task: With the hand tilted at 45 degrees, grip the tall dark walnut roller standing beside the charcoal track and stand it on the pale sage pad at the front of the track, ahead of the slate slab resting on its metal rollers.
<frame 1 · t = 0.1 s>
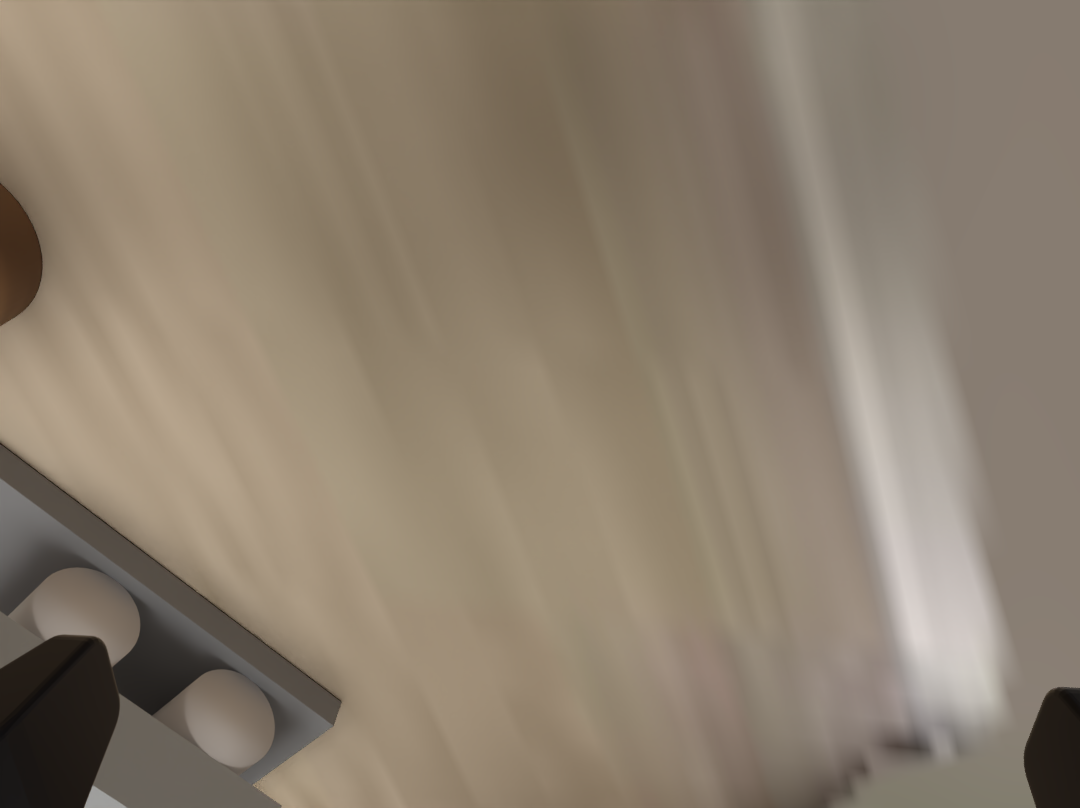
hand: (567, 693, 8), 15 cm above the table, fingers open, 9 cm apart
slab track: (13, 580, 27), on the table
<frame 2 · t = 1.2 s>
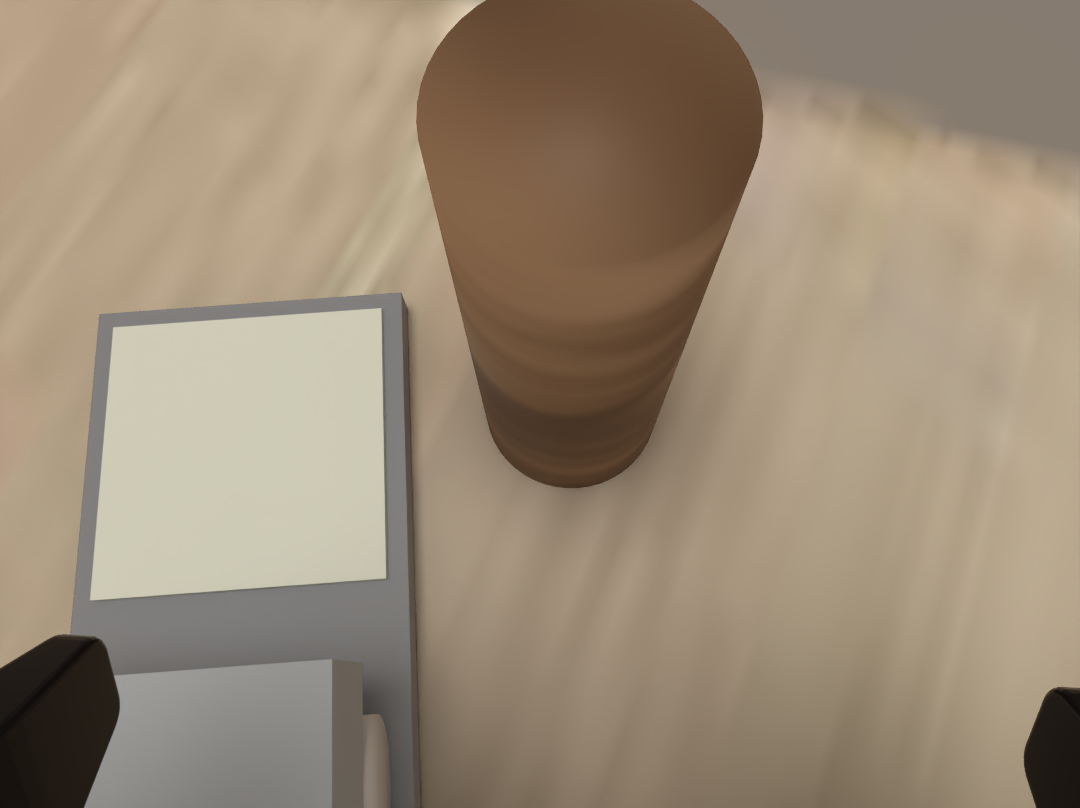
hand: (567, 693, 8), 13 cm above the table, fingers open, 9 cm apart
walnut roller: (570, 404, 23), on the table
slab track: (251, 700, 21), on the table
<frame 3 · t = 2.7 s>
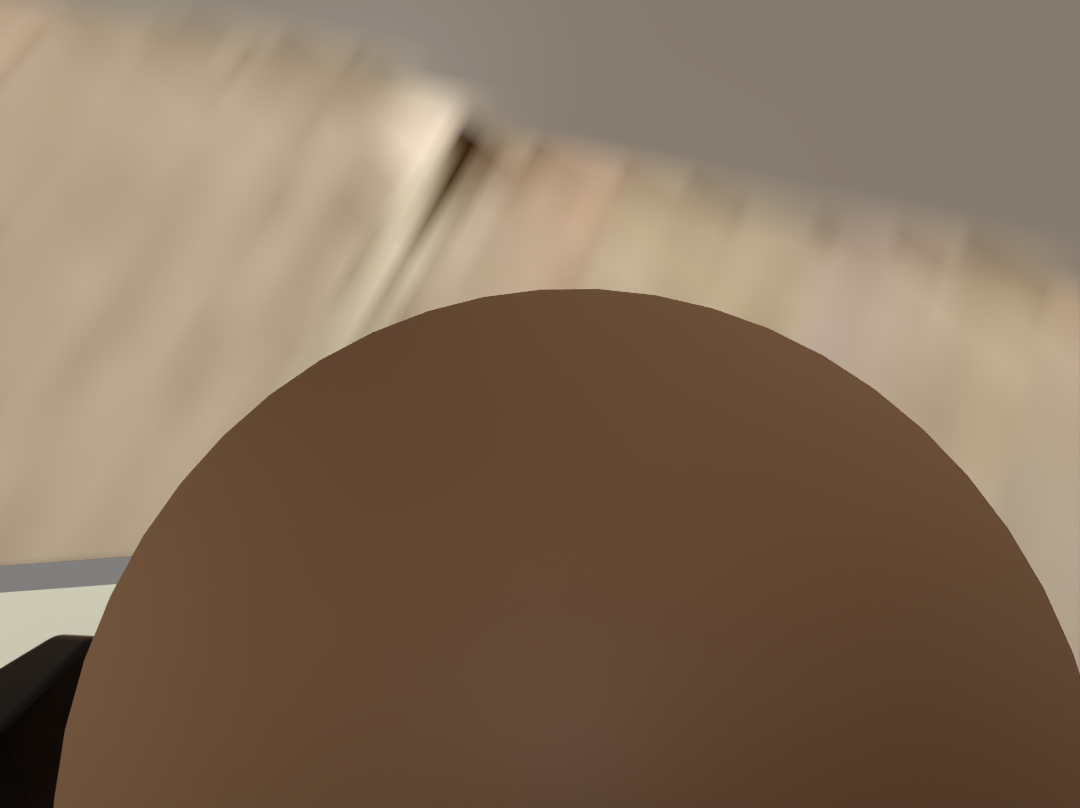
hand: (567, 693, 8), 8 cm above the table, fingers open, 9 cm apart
walnut roller: (556, 710, 16), on the table
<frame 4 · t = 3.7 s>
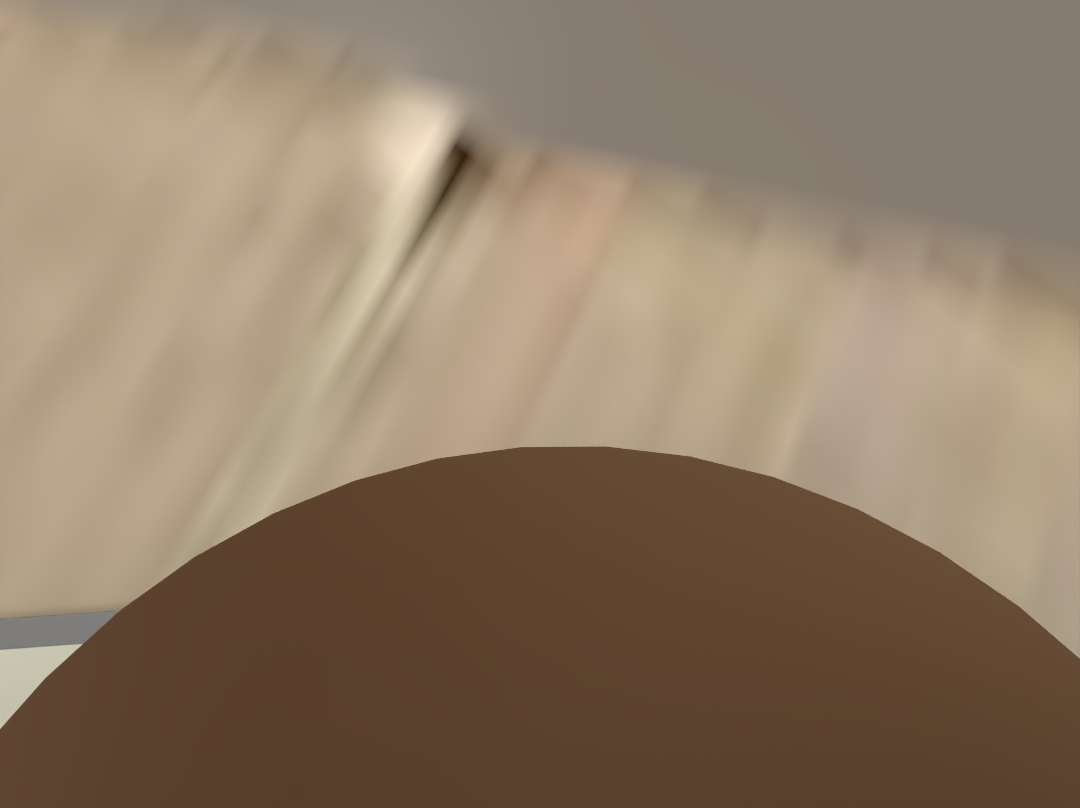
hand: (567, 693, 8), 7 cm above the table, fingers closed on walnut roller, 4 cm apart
walnut roller: (557, 781, 14), on the table, touching gripper
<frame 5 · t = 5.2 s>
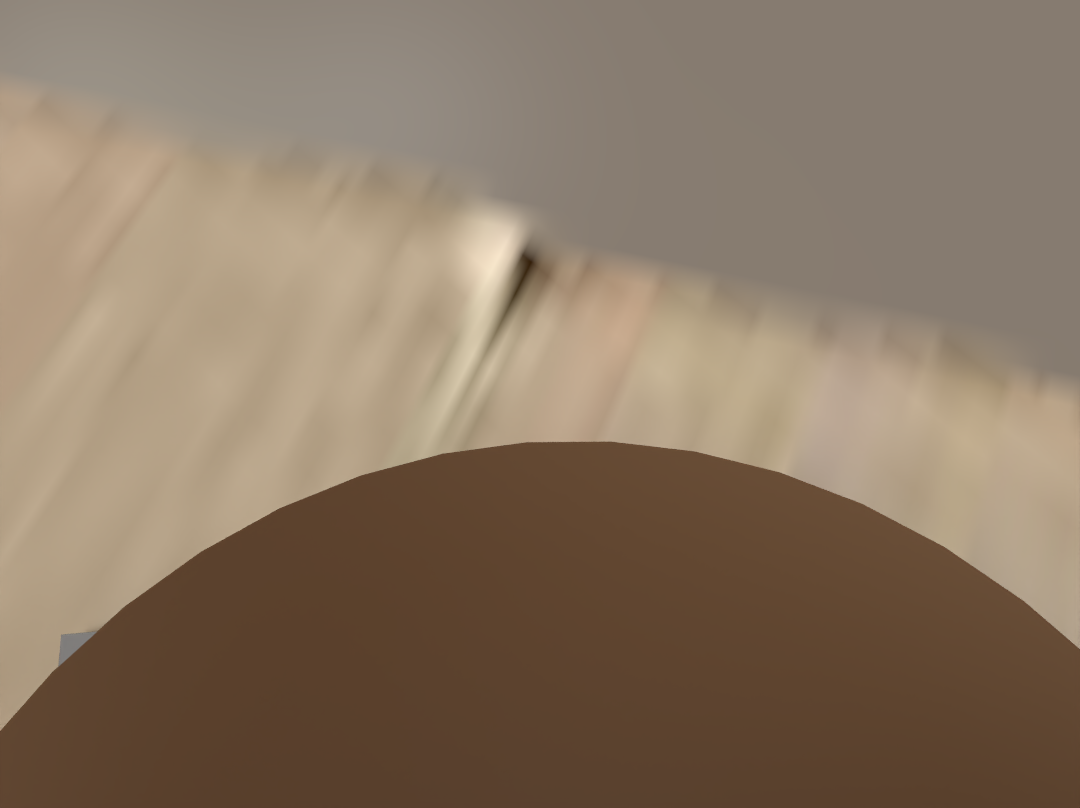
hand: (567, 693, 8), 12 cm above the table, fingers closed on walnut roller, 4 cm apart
walnut roller: (558, 779, 14), point 6 cm above the table, touching gripper
when the fingers open (9 cm above the table, at t = 6.9 s): walnut roller drops 1 cm, resting on slab track.
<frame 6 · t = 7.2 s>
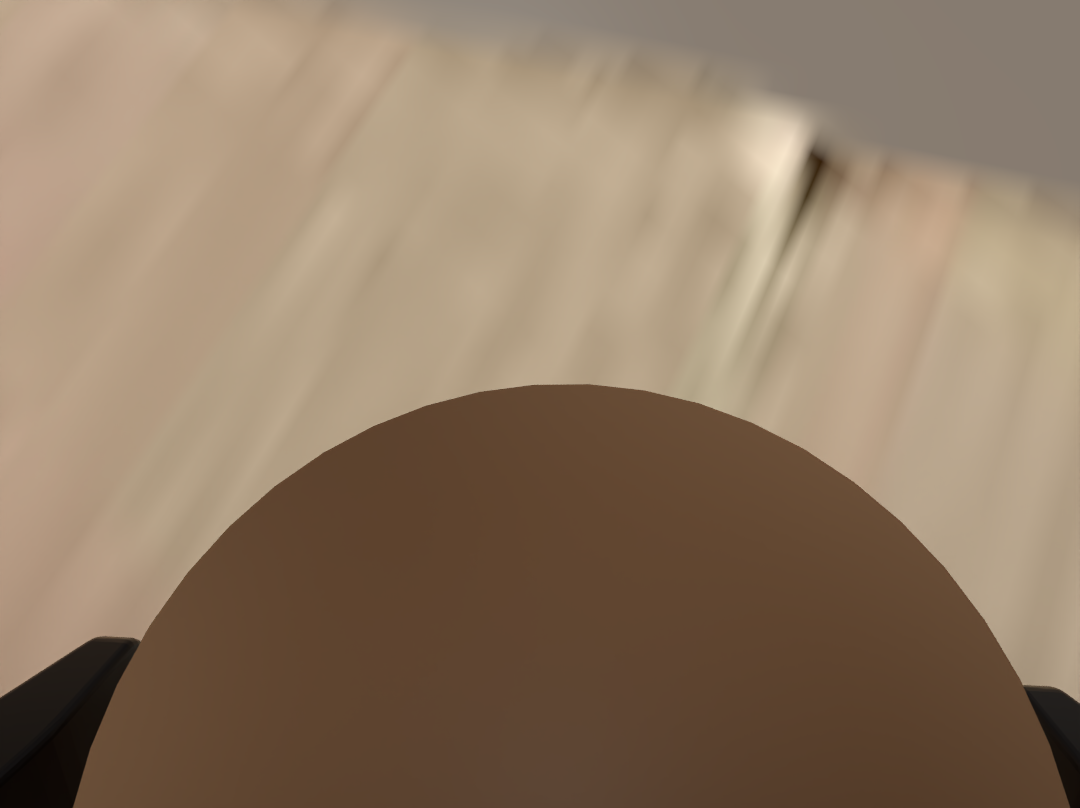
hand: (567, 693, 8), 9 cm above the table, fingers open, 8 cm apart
walnut roller: (557, 775, 15), point 1 cm above the table, touching slab track
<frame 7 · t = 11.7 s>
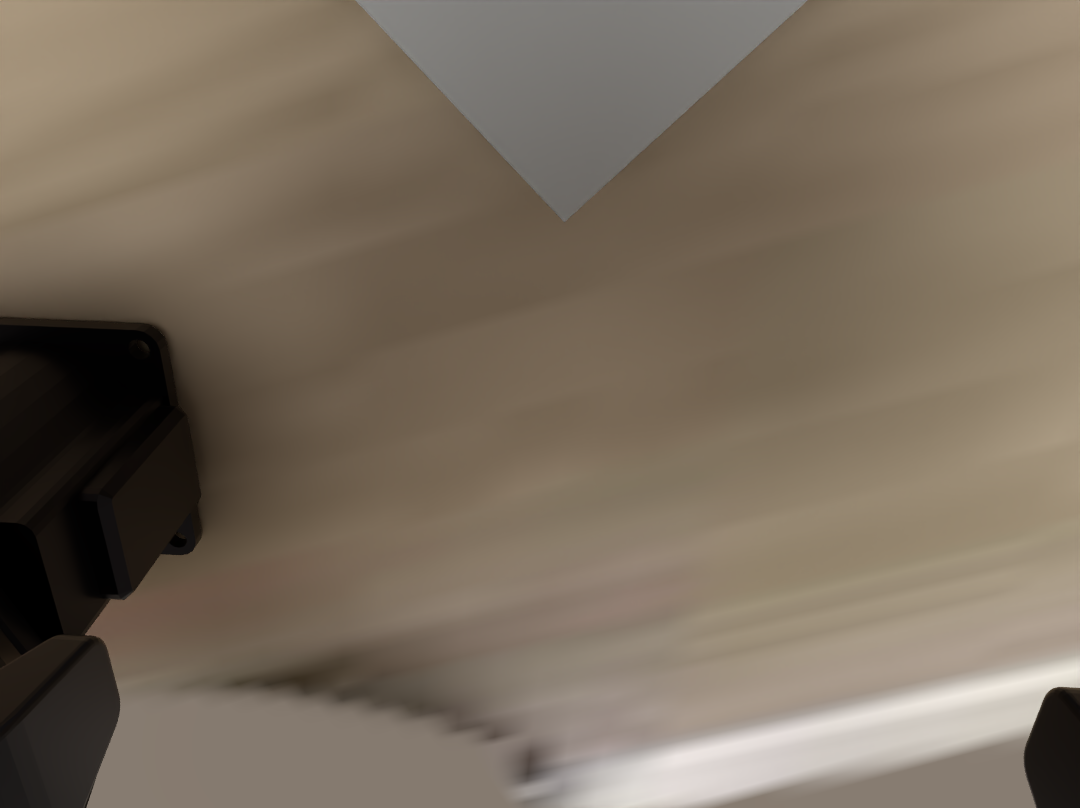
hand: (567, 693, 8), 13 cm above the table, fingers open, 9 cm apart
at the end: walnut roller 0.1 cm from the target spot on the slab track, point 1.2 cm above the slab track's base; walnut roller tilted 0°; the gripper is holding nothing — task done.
